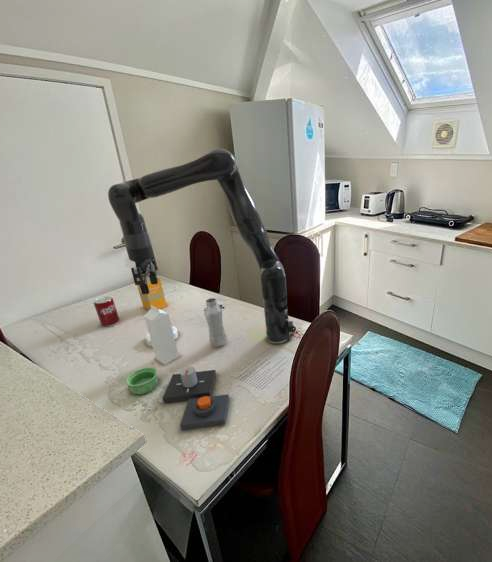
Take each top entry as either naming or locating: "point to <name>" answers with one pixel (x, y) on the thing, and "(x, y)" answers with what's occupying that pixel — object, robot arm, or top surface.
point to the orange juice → (153, 295)
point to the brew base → (181, 393)
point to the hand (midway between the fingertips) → (150, 288)
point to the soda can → (106, 311)
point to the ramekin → (142, 380)
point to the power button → (204, 403)
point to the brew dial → (188, 376)
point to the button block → (205, 413)
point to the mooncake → (150, 339)
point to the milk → (161, 335)
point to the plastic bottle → (215, 323)
